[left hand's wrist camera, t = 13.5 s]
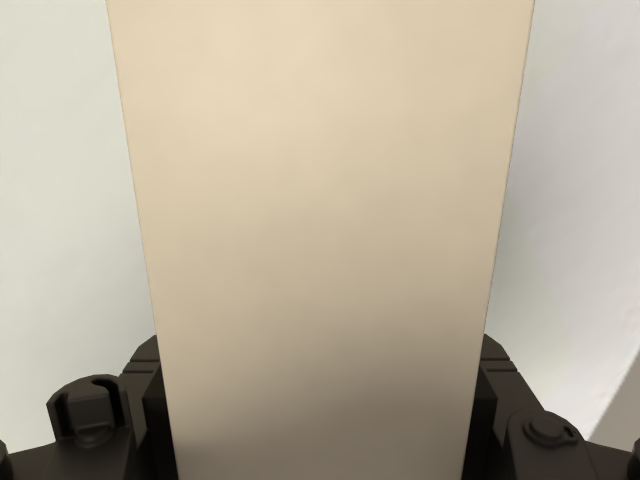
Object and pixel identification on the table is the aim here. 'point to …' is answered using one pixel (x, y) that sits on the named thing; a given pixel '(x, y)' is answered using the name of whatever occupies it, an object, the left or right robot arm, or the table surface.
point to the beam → (320, 223)
